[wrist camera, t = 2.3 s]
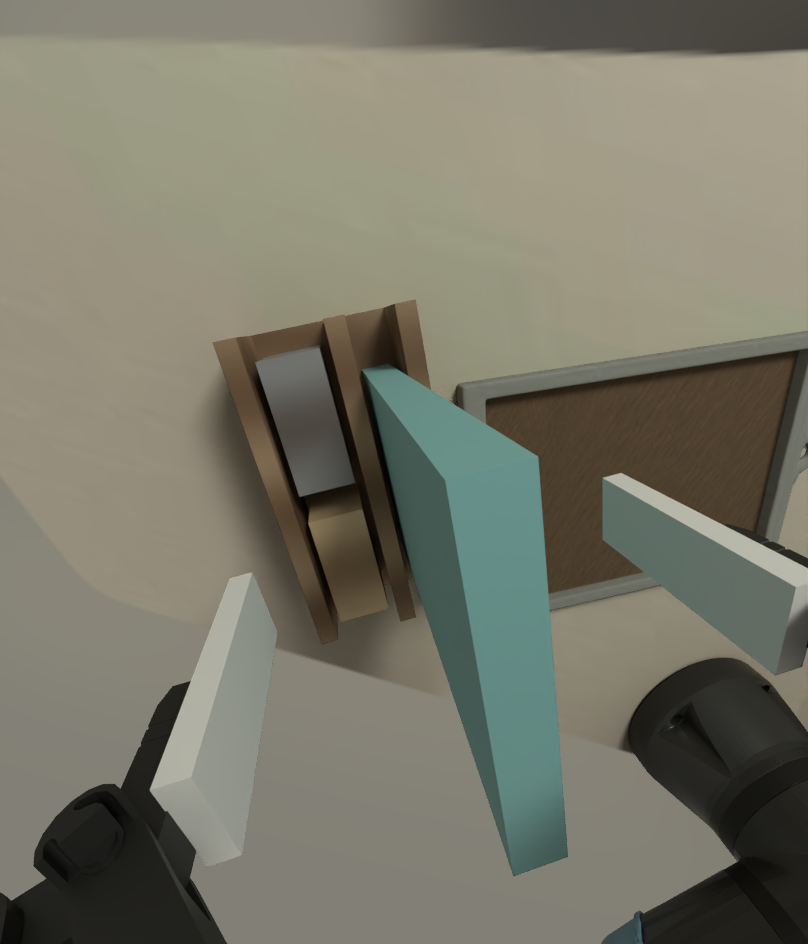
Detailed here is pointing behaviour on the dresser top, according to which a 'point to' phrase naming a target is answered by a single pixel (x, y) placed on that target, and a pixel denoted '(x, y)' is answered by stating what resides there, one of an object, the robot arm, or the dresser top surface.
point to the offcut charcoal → (307, 419)
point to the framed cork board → (654, 444)
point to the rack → (346, 354)
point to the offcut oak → (347, 551)
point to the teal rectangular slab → (481, 597)
